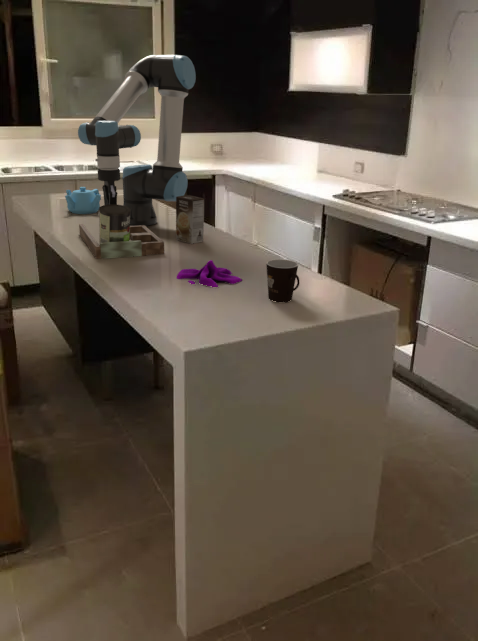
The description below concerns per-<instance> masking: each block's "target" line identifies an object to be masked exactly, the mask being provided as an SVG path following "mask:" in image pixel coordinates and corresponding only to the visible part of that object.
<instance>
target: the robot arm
mask: <svg viewBox="0 0 478 641" xmlns="http://www.w3.org/2000/svg"><path fill="white" fill-rule="evenodd" d="M196 75H197V74H196V69H195V65H194V64H193V61H192V60H191V59H190V58H189V57H188V56H187V55H181V54H150V55H147V56H145V57H144V58H141V59H140V60H139V61H137V62H136V63H135V64H134V65H132V67H131V68H129V70H128V71H127V72H126V73H125V76H124V81H122V83H121V84H120V85H119V87H118V88H117V89H116V90H115V92H114V93H113V94H112V95H111V96H110V98H109V99H108V100H107V101H106V103H105V104H104V105H103V106H102V107H101V109H100V110H99V112H98V113H97V114H96V115H95V117H94V118H93V119H92V120H91V121H90V122H83V123H81V124H80V125H79V126H78V128H77V135H78V136H77V137H78V139H79V141H80V142H81V143H82V144H84V145H88V146H95V147H96V158H95V160H94V161H95V162H97V163H96V164H97V167H98V169H97V179H98V181H101V182H103V185H102V194H103V202H104V203H103V204H104V205H109V204H116V205H118V204H117V203H118V195H119V194H118V191H117V185H116V184H115V182H117V181H120V180H121V170H120V167H121V159H120V149H127V148H129V149H130V148H134V147H137V146H138V145H139V144H140V143H141V140H142V135H141V134H142V133H141V130H140V129H139V127H137V126H135V125H134V124H133V125H132V124H126V125H122V124H121V125H120V124H119V123H120V122H121V120H122V119H123V118H124V116H125V115H126V113H128V111H129V110H130V109H131V107H132V106H133V104H134V103H135V102H136V101H137V99H138V98H139V96H141V95H143V94H145V93H146V92H147V91H148V90H149V89H151V88H157V92H158V94H160V96H161V99H160V112H159V114H160V116H159V128H158V129H159V130H158V144H157V159H156V161H155V162H154V163H152V165H151V164H138V165H136V164H135V165H129V166H125V167H124V168H123V169H122V194H123V206H126V207H128V208H130V210H131V211H130V226H139V225H145V226H146V227H147V226H153V225H156V224H157V223H158V216H157V213H156V210H155V208H154V204H153V200H159V201H166V202H176V197H177V196H184V195H186V192H187V189H188V181H189V180H188V178H187V174H186V173H185V172H183V171H184V170H183V166H182V165H181V163H180V157H181V155H180V154H181V143H182V142H181V141H182V129H183V116H184V101H185V98H186V97H188V95H189V90H191V89H192V88H193V87H194V86H195V83H196V81H197V80H196V78H197V76H196Z"/></svg>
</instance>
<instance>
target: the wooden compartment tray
mask: <svg viewBox="0 0 478 641" xmlns="http://www.w3.org/2000/svg"><path fill="white" fill-rule="evenodd" d="M78 225H79V226H78V230H79V231H78V232H79V235H80V237H81V239H82V240H83V242H84V243H85V244H86V246H87V248H89V250H90V252H91V253H92V254H93V256H94V258H95V259H96V260H102V259H115V258H117V259H118V258H132V257H133V256H134V257H145V256H150V255H164V254H165V242H164V241H163V240H162V239H161V238H160V237H159V236H157V235H156V234H155V233H154V232H153V231H151V229H149V228H148V227H147V226H145V225H139V226H130V235H129V238H130V240H129V241H120V242H103V243H100V245H99V242H98V241H97V240H96V239H95V237H94V236H93V235H92V233H91V232H90V231H89V230H88V229H87V227H86V226H85V224H84V223H79V224H78Z"/></svg>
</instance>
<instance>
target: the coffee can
mask: <svg viewBox="0 0 478 641" xmlns="http://www.w3.org/2000/svg"><path fill="white" fill-rule="evenodd" d="M98 211H99V242H98V244H99V245H100V243H103V242H120V241H130V237H129V235H130V211H131V210H130V208H128V207H126V206H123V205H122V204H117V205H116V204H109V205H100V207H99V210H98Z"/></svg>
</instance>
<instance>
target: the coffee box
mask: <svg viewBox="0 0 478 641" xmlns="http://www.w3.org/2000/svg"><path fill="white" fill-rule="evenodd" d="M204 223H205V198H203V197H199V196H195V195H191V194H184V196H177V197H176V201H175V240H177V241H181V242H184V243H188V244H191V245H192V244H193V243H194V244H197V243H202V242H204V236H205V235H204V231H205V230H204V229H205V228H204V227H205V224H204ZM194 244H193V245H194Z"/></svg>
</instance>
